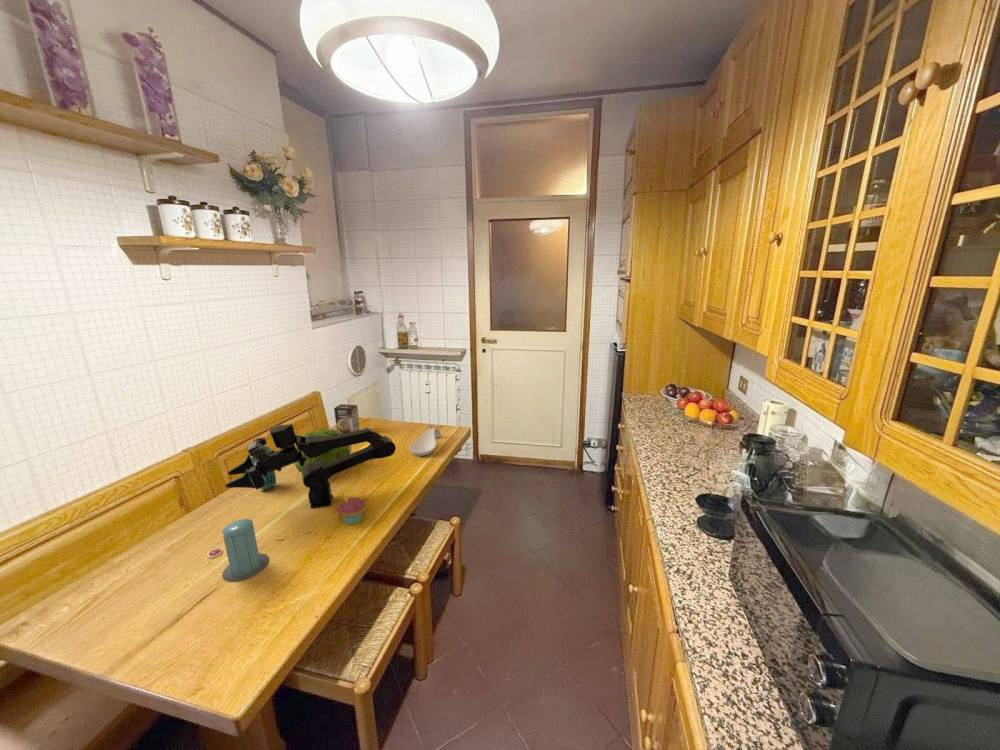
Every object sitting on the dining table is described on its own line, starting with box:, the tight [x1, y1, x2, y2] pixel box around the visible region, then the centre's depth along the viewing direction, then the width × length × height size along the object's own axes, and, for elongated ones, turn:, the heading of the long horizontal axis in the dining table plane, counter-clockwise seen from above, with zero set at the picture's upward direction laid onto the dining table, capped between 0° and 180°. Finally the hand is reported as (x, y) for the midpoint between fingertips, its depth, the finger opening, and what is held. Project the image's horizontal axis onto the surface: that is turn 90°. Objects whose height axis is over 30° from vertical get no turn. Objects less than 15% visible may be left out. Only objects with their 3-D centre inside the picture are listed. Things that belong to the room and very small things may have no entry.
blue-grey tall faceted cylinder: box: [222, 518, 261, 576], centre depth 108 cm, size 7×7×13 cm
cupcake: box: [336, 487, 367, 525], centre depth 129 cm, size 9×8×12 cm
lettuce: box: [294, 428, 352, 474], centre depth 164 cm, size 18×23×19 cm
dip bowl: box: [206, 547, 223, 559], centre depth 115 cm, size 4×4×1 cm
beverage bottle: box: [252, 437, 277, 490], centre depth 149 cm, size 6×7×20 cm
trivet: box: [221, 552, 270, 583], centre depth 109 cm, size 11×11×1 cm
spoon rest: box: [408, 427, 442, 457], centre depth 183 cm, size 24×12×7 cm, turn 170°
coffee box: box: [333, 403, 361, 434], centre depth 196 cm, size 9×6×16 cm
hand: (227, 479), depth 124 cm, fingers open, 9 cm apart
